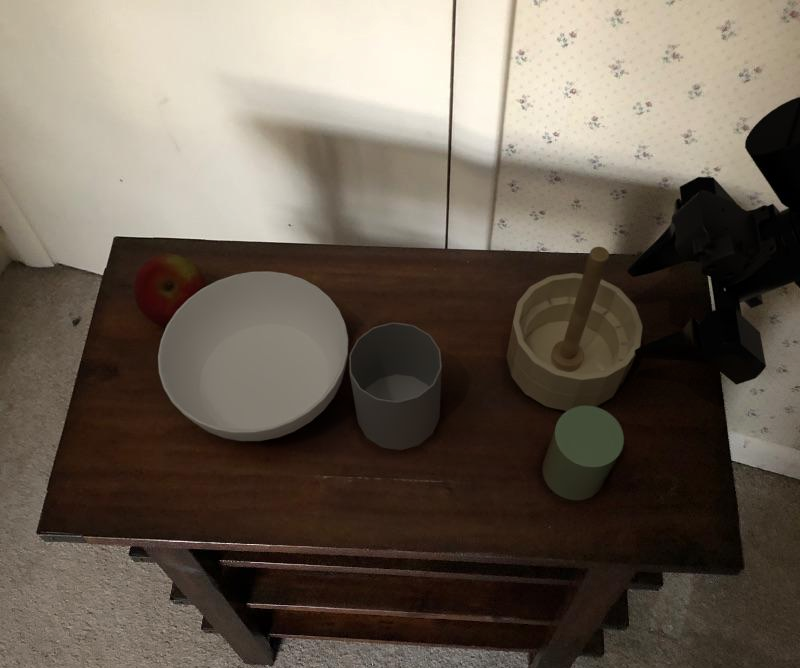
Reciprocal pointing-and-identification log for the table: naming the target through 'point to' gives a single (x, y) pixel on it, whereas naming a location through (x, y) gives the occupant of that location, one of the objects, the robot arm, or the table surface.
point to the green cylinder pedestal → (582, 452)
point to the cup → (396, 385)
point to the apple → (166, 286)
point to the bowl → (254, 355)
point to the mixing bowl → (601, 343)
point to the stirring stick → (580, 313)
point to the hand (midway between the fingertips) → (633, 312)
